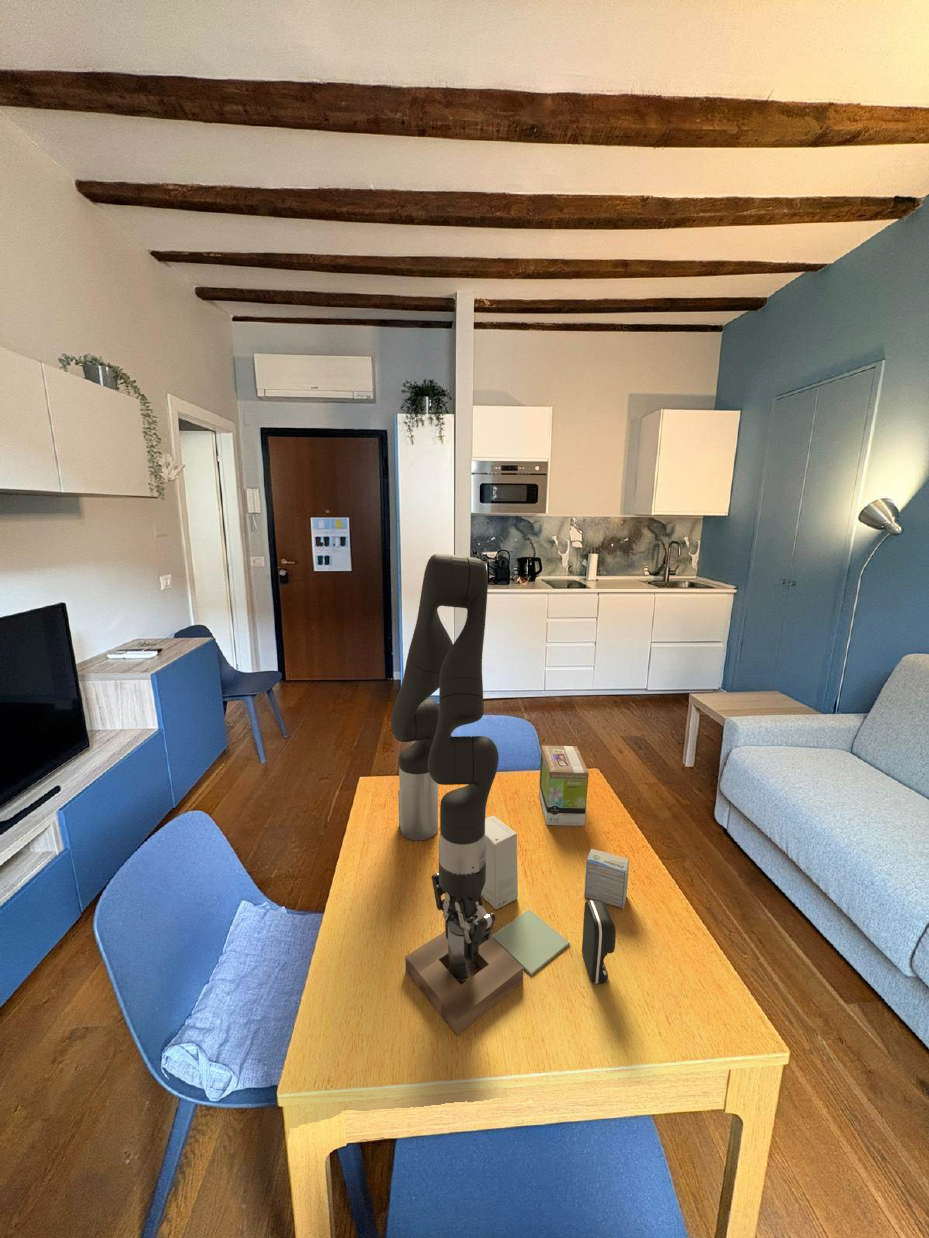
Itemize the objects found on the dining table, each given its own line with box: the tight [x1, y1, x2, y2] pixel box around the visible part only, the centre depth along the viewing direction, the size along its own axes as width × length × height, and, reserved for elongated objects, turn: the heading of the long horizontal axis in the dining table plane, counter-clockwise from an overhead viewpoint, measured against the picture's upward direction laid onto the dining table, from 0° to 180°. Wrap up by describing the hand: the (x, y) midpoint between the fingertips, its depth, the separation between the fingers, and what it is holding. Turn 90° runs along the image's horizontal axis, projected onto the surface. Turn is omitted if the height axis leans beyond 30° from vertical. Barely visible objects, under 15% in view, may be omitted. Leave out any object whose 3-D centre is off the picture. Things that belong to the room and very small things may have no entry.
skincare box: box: [481, 815, 519, 910], centre depth 103 cm, size 8×6×15 cm
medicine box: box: [583, 848, 630, 910], centre depth 103 cm, size 8×4×9 cm, turn 65°
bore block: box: [404, 930, 524, 1037], centre depth 85 cm, size 14×14×3 cm
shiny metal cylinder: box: [447, 913, 475, 981], centre depth 84 cm, size 4×4×9 cm
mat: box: [490, 908, 571, 976], centre depth 93 cm, size 10×10×1 cm
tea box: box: [538, 745, 589, 827], centre depth 132 cm, size 15×10×15 cm
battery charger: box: [581, 899, 617, 985], centre depth 86 cm, size 7×4×11 cm, turn 2°
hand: (461, 946), depth 84 cm, fingers closed on shiny metal cylinder, 4 cm apart
